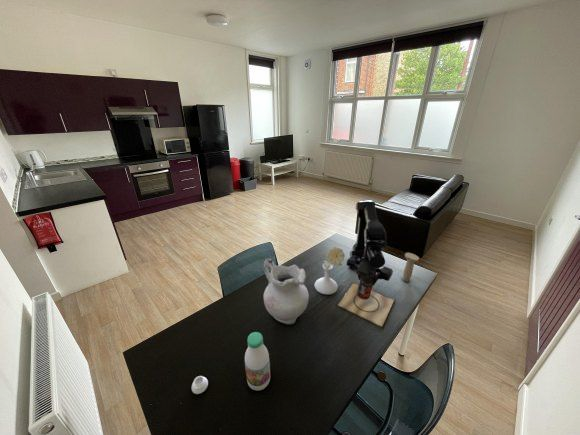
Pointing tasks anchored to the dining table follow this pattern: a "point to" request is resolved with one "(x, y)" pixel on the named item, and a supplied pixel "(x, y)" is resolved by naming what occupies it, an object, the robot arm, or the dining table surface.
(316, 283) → the flower in vase
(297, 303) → the ceramic pitcher
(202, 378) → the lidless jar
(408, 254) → the handle
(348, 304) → the circle mat
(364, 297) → the deodorant
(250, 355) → the milk bottle
